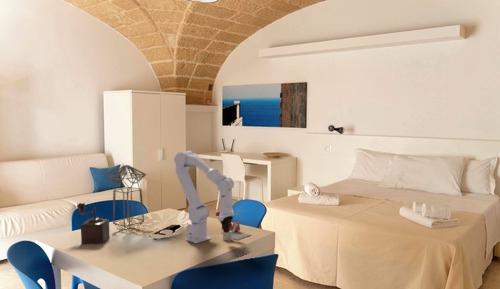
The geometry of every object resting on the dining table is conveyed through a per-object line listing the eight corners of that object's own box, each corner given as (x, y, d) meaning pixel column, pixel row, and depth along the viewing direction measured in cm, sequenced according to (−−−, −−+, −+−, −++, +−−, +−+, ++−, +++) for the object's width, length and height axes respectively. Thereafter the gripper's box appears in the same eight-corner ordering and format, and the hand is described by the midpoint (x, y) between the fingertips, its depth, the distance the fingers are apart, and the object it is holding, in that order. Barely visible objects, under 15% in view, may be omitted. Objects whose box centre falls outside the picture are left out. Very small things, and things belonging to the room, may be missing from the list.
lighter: (223, 240, 195) (222, 224, 195) (223, 239, 197) (223, 223, 196) (237, 240, 195) (237, 224, 194) (237, 239, 196) (237, 223, 196)
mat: (237, 240, 195) (237, 239, 195) (222, 236, 202) (222, 235, 202) (250, 235, 202) (250, 235, 202) (236, 231, 209) (236, 231, 209)
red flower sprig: (237, 232, 207) (236, 213, 206) (216, 229, 214) (215, 211, 213) (241, 230, 209) (240, 212, 209) (219, 228, 217) (219, 210, 216)
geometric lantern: (150, 229, 215) (148, 164, 212) (126, 236, 202) (124, 167, 199) (130, 224, 224) (128, 162, 221) (106, 231, 210) (104, 165, 208)
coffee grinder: (111, 237, 202) (109, 201, 200) (102, 244, 191) (101, 206, 189) (80, 236, 202) (79, 201, 201) (70, 244, 191) (68, 206, 190)
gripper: (228, 207, 181) (228, 237, 182) (239, 201, 195) (239, 228, 196) (213, 206, 183) (214, 235, 184) (225, 200, 197) (226, 227, 198)
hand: (226, 232), depth 190 cm, fingers closed
